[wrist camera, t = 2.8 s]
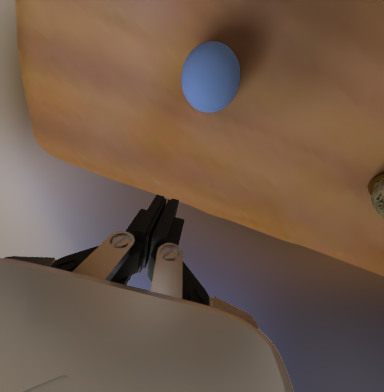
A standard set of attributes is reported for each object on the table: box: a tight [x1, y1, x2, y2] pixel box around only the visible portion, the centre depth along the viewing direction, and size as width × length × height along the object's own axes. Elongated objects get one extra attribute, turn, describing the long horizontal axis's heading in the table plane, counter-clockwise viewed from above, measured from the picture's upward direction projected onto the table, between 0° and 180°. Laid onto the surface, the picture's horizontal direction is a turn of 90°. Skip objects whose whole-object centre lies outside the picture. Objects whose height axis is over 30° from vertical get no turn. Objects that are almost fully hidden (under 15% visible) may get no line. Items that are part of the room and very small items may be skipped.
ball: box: [181, 41, 240, 113], centre depth 17 cm, size 6×6×6 cm
